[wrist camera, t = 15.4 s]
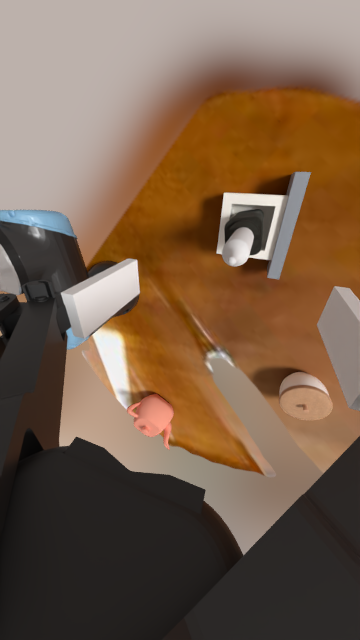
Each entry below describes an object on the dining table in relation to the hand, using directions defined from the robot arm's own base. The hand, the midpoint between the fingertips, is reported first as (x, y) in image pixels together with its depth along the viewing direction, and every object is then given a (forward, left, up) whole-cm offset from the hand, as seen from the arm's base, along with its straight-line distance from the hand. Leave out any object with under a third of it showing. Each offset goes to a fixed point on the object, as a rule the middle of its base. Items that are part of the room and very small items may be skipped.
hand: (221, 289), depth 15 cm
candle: (0, 0, -32) cm, 32 cm away
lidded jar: (+20, -36, -33) cm, 53 cm away
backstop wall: (+6, 0, -33) cm, 33 cm away
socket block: (0, 0, -33) cm, 33 cm away
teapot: (-20, -65, -33) cm, 75 cm away
